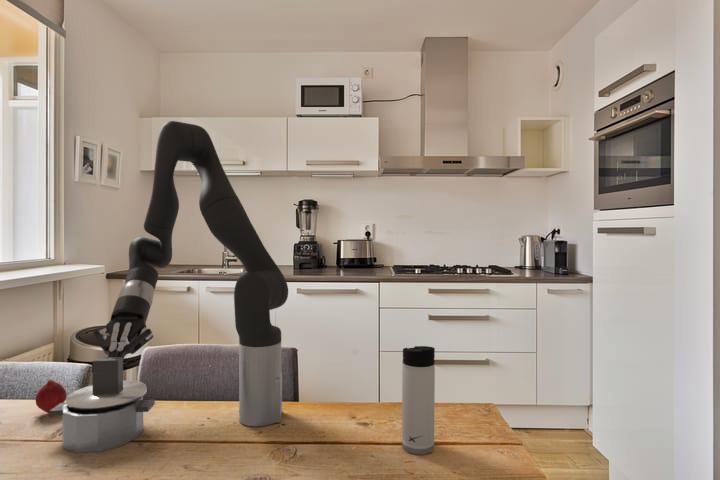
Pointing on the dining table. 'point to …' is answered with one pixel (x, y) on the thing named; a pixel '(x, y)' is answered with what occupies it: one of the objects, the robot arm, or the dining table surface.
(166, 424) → the dining table surface
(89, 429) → the pot
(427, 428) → the travel mug
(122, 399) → the lid
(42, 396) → the onion
